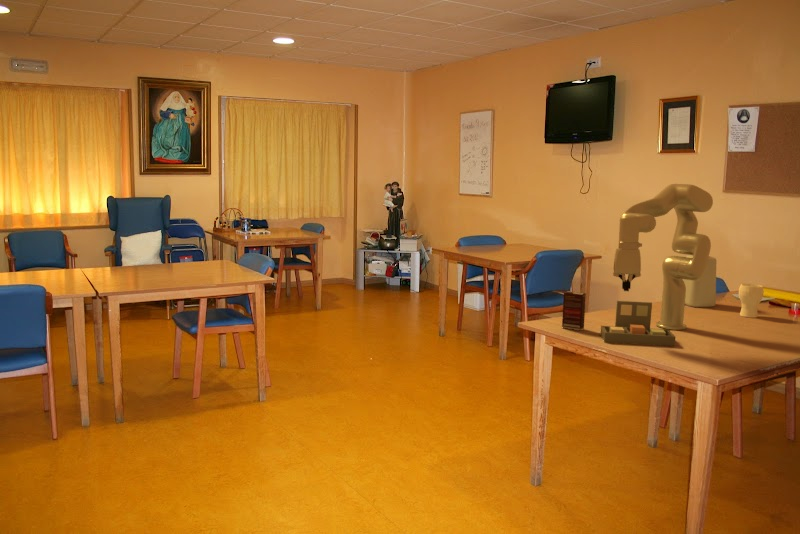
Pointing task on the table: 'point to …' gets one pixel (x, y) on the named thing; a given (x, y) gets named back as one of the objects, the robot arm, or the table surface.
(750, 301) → the cup
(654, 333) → the olive square block
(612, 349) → the table surface
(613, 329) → the tan square block
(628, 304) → the card
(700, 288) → the beige rounded canister
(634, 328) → the terracotta key
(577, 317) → the supplement box
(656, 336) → the key pad frame
